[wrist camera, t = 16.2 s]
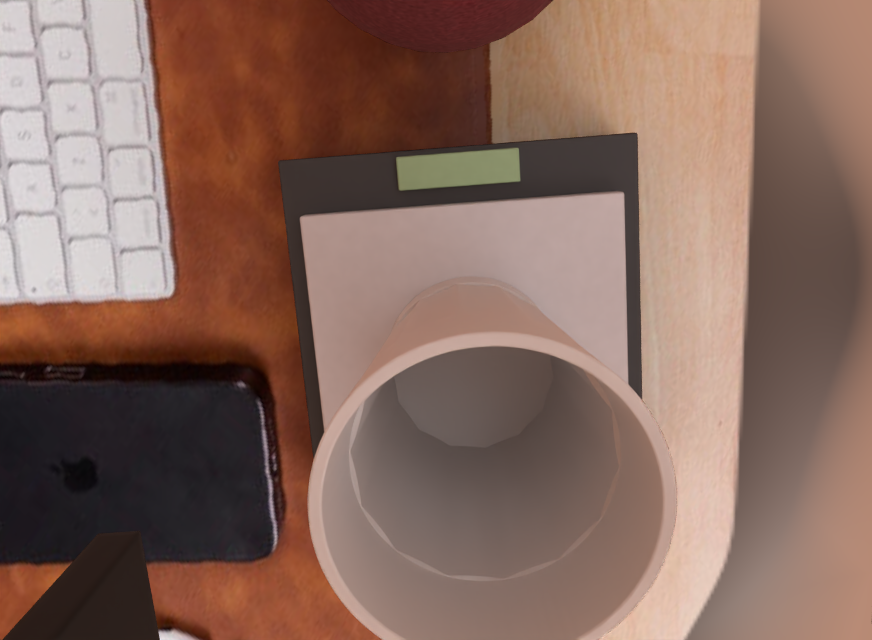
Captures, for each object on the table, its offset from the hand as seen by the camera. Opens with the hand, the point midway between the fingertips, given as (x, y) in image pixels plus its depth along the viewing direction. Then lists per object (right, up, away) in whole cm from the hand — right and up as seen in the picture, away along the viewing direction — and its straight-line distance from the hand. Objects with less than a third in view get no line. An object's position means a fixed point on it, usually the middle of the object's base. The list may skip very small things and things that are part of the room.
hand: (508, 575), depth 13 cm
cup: (0, +3, +15) cm, 15 cm away
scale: (0, +5, +18) cm, 19 cm away
